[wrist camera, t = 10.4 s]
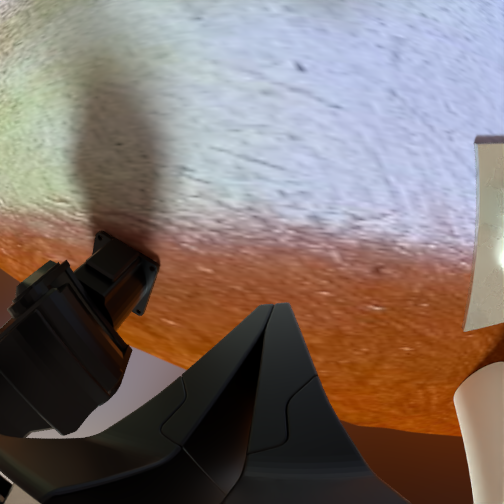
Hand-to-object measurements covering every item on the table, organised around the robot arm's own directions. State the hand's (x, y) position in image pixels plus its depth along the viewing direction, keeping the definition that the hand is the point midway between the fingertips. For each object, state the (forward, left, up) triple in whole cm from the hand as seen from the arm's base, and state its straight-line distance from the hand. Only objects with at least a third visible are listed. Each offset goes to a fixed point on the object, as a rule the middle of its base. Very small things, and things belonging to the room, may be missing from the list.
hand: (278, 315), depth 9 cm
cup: (-7, -30, -13) cm, 34 cm away
